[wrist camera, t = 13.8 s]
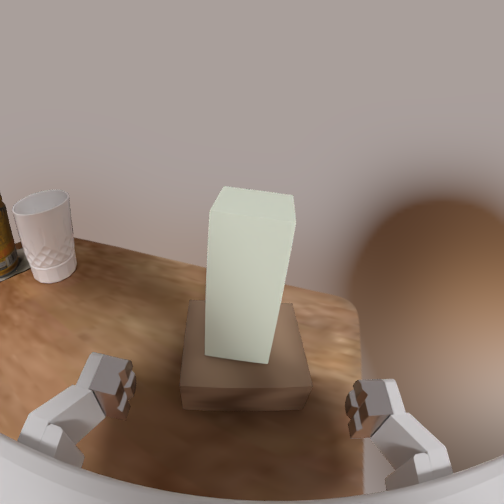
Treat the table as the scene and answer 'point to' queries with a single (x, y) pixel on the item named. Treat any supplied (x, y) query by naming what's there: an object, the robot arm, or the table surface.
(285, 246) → the sage block
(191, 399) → the walnut base
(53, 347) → the table surface
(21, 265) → the condiment
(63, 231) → the white cup
